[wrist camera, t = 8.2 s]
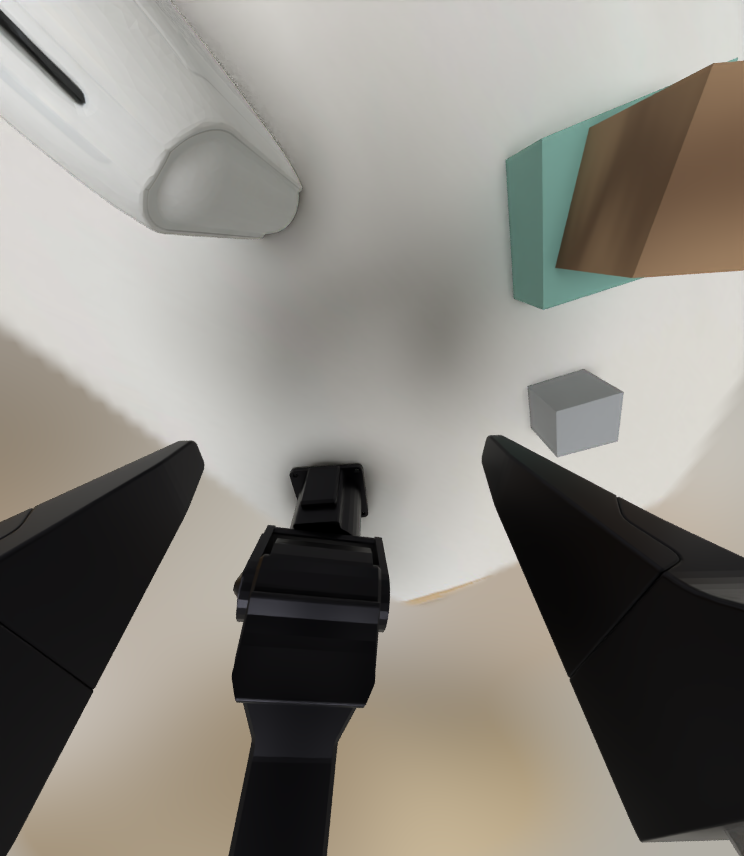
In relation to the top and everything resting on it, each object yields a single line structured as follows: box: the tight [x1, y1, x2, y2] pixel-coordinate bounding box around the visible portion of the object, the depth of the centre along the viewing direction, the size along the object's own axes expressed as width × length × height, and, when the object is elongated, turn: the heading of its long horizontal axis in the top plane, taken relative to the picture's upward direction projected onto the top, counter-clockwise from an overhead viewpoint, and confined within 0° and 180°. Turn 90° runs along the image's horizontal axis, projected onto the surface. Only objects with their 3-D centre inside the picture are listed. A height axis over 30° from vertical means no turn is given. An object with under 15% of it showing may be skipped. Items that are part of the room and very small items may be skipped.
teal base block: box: [506, 58, 738, 310], centre depth 15 cm, size 7×7×4 cm
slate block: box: [528, 369, 624, 457], centre depth 21 cm, size 4×4×4 cm
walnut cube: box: [555, 61, 744, 278], centre depth 11 cm, size 5×5×5 cm
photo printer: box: [0, 0, 302, 240], centre depth 9 cm, size 10×4×12 cm, turn 40°
